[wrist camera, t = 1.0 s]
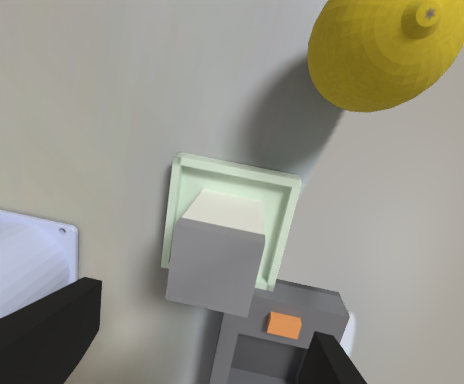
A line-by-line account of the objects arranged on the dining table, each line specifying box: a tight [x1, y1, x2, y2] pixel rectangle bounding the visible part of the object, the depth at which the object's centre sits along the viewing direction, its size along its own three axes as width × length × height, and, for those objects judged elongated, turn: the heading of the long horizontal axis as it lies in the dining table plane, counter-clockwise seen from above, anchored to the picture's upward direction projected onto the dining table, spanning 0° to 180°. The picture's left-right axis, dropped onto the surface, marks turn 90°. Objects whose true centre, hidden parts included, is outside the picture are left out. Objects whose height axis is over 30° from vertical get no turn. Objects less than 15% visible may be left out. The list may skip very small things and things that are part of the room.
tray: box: [161, 152, 302, 292], centre depth 18 cm, size 8×8×2 cm
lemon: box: [307, 0, 464, 112], centre depth 12 cm, size 6×6×8 cm
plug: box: [165, 189, 265, 318], centre depth 15 cm, size 4×4×6 cm
